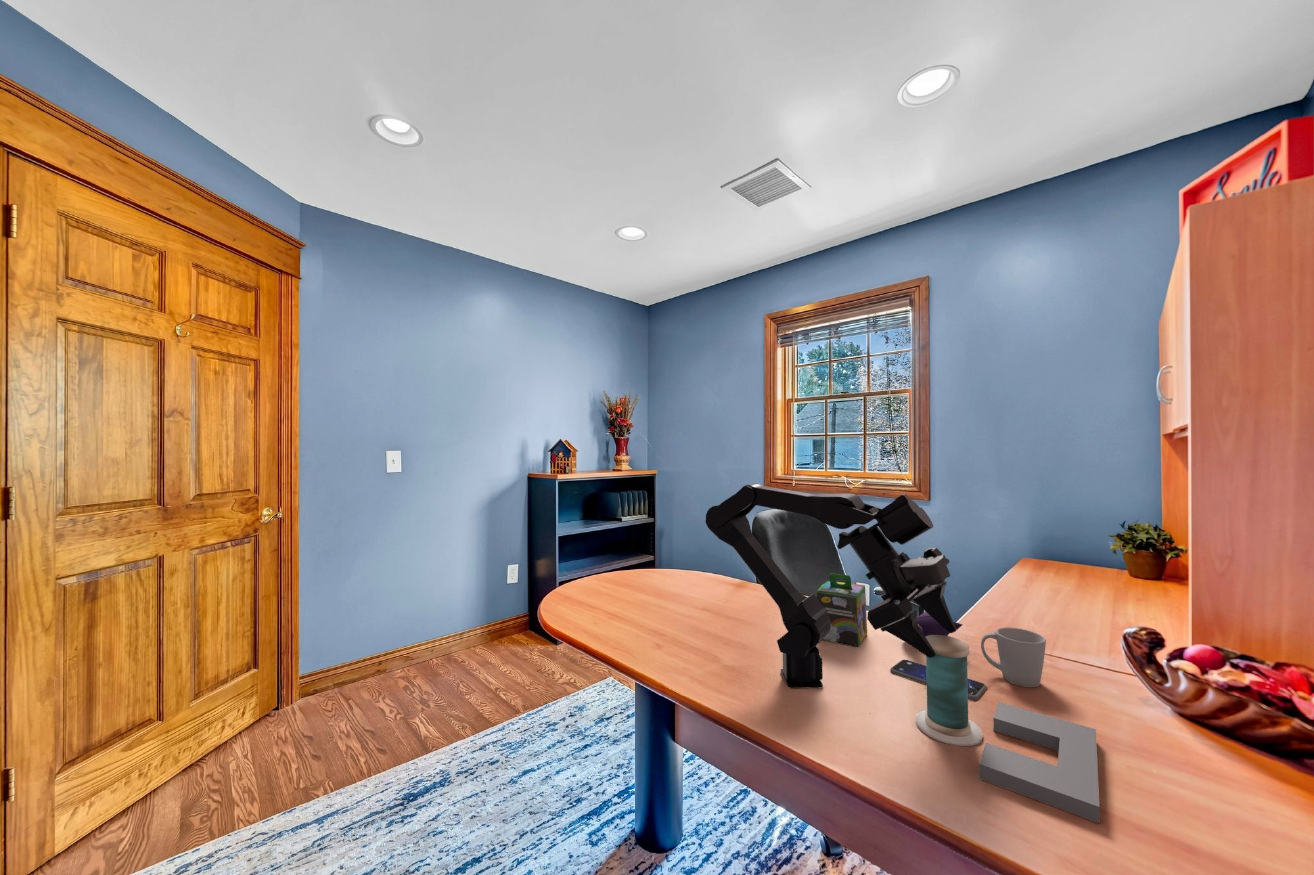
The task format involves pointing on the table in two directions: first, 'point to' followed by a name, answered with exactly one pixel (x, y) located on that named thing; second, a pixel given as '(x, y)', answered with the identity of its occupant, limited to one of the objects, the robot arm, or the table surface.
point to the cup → (1018, 655)
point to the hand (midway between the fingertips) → (943, 643)
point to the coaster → (968, 740)
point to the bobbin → (947, 686)
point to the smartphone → (919, 675)
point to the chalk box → (844, 610)
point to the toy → (932, 625)
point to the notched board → (1039, 780)
